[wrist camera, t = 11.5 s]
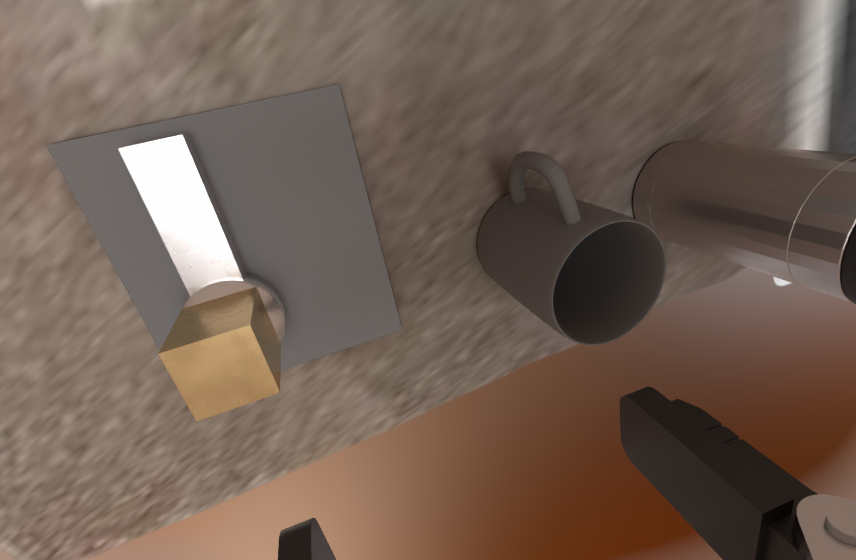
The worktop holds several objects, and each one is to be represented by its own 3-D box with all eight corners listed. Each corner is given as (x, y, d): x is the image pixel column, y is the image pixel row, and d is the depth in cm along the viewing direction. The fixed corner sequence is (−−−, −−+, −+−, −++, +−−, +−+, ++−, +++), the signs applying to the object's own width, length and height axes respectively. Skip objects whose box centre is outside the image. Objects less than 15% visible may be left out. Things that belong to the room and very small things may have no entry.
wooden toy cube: (256, 286, 30) (250, 324, 24) (281, 345, 32) (279, 392, 26) (181, 308, 29) (158, 353, 23) (212, 367, 31) (196, 421, 25)
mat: (337, 84, 29) (338, 84, 29) (400, 326, 38) (402, 329, 37) (50, 144, 26) (45, 145, 25) (189, 396, 34) (188, 401, 34)
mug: (576, 252, 41) (678, 302, 30) (496, 302, 40) (572, 371, 29) (530, 117, 35) (639, 120, 24) (435, 173, 34) (503, 201, 23)
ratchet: (216, 127, 28) (201, 130, 23) (297, 337, 35) (298, 374, 30) (99, 152, 26) (57, 161, 21) (208, 365, 33) (194, 409, 28)
